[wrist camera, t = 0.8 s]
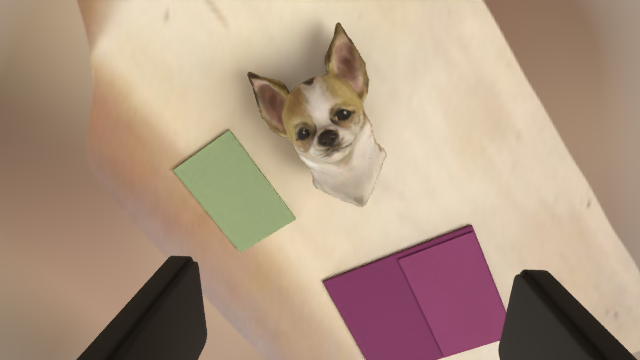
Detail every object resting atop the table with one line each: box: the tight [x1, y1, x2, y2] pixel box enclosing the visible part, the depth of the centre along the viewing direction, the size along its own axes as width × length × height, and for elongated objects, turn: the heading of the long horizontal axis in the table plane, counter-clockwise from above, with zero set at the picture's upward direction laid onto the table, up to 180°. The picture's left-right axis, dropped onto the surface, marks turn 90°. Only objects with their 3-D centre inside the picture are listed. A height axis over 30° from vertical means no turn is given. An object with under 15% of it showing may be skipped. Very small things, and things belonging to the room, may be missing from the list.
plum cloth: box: [323, 225, 506, 360], centre depth 40 cm, size 16×18×1 cm
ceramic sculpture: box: [247, 22, 386, 207], centre depth 30 cm, size 11×9×15 cm
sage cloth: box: [173, 130, 296, 253], centre depth 37 cm, size 12×8×1 cm, turn 34°
